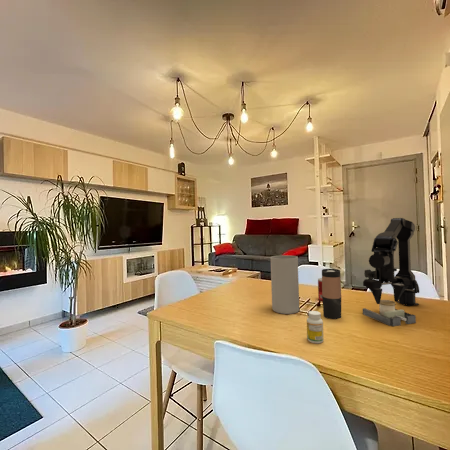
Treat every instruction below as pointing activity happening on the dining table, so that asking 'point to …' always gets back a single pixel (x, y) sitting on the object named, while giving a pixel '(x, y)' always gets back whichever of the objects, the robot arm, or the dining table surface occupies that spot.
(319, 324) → the supplement bottle
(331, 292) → the travel mug
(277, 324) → the dining table surface
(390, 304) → the jar
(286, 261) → the cylinder vase
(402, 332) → the dining table surface
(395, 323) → the grey u-shaped frame
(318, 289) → the canned food
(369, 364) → the dining table surface
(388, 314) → the pusher
